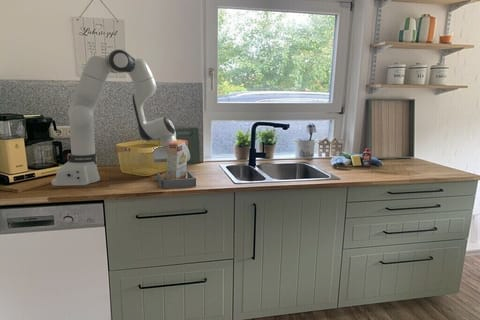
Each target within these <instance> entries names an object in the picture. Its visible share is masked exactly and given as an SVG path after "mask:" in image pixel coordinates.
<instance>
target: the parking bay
mask: <svg viewBox="0 0 480 320" xmlns="http://www.w3.org/2000/svg"><path fill="white" fill-rule="evenodd" d="M156 174H157V175H156V176H157V177H156V179H157V182H158V184H159V186H160V188H161V189H163V190H164V189H176V188H189V187H197V178H196V177H195V175H194V174H193V173H192V172H191V171H190V170H186V177H187V178H185V179H173V180H166V179H163V177H162V174H161V173H160V172H159V171H158V172H157V173H156Z"/></svg>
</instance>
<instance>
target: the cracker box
mask: <svg viewBox="0 0 480 320" xmlns="http://www.w3.org/2000/svg"><path fill="white" fill-rule="evenodd" d="M188 145H189V141H188V140H185V139H177V140H176V141H173V142H170V143H168V147H167V162H166V171H165V180H173V179H187V178H186V177H187V164H188V163H187V162H188V161H187V150H189V148H188V147H189V146H188Z"/></svg>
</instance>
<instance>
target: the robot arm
mask: <svg viewBox="0 0 480 320" xmlns="http://www.w3.org/2000/svg"><path fill="white" fill-rule="evenodd" d="M112 73H114V74H123V73H126V75H128V76H129V77H130V79H131V81H132V84H133V87H134V93H133V95H132V104H133V105H132V106H133V109H134V113H135V118H136V122H137V128H138V129H137V130H138V133H139V136H140V138H141V139H142V140H144V141H147V142H151V141H152V140H155V139H158V138H161V139H160V140H161V146H157V147H158V148H156V149H154V148H153V149H154V151H153V152H151V154H152V162H153V163H154V164H155V163H157V164H158V163H167V147H168V143H170V142H173V141H176V140H178V139H177V133H176V128H175V124H174V122H173V120H172V119H171V118H169V117H167V116H162V117H159V118H156V119H154V120H151V121H147V119H146V117H145V115H146V114H145V111H144V104H145V102H147V101H148V100H149V99H150V98H152V97H153V95H154V94H155V93H156V90H157V83H156V80H155V78H154V75H153V72H152V70H151V68H150V67H149V65H148V63H147V61H146V60H145V59H143V58H136V59H135V58H134V57H132V56H131V55H130V54H129V53H128V51H125V50H124V49H115V50H113V51H110V52H109V53H108V55H107V56H105V57H102V56H100V55H92V56H90V57H89V58H88V60H87V62H86V64H85V65H84V68H83V70H82V72H81V76H80V78H79V81H78V84H77V87H76V90H75V91H74V95H73V97H72V100H71V103H70V104H69V107H68V111H67V117H68V120H69V121H68V122H69V137H70V150H71V153H67V155H66V157H67V158H66V159H67V162H65V163H64V164H63V165H61V166H60V167H59V168H58V169H57V170H56V174H55V178H53V179H52V180H51V183H50V184H51V185H52V186H54V187H55V186H56V187H57V186H59V187H60V186H67V187H68V186H87V185H89V184H93V183H97V182H99V181H100V180H101V177H100V174H99V170H98V165H97V164H98V157H97V153H96V144H95V143H96V142H95V114H94V111H95V109H96V106H97V105H98V102H99V100H100V99H101V95H102V92H103V91H104V87H105V84H106V81H107V78H108V76H109V75H110V74H112ZM190 153H191V152H190V149H188V150H187V162H188V161H190V160H191V154H190Z"/></svg>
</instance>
